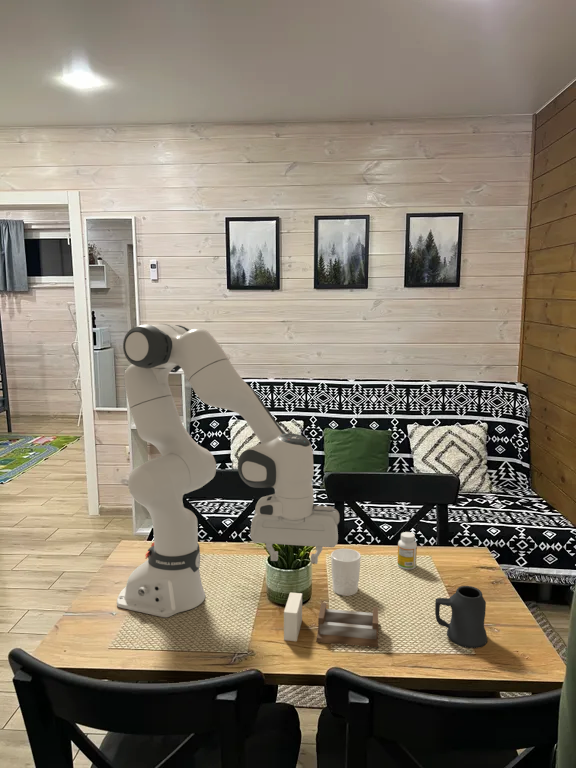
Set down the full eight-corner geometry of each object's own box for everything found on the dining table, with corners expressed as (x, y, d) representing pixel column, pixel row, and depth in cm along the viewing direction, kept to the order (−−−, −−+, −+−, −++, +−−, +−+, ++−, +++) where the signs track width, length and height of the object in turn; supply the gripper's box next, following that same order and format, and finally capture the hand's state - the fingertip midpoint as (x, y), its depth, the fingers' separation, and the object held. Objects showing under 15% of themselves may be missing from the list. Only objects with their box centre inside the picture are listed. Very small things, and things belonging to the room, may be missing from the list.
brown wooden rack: (316, 641, 132) (316, 621, 132) (320, 618, 142) (321, 599, 141) (378, 647, 130) (378, 627, 130) (378, 623, 140) (379, 604, 139)
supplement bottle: (404, 559, 174) (405, 529, 172) (419, 566, 170) (421, 534, 168) (393, 565, 170) (394, 534, 169) (408, 571, 166) (410, 540, 165)
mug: (484, 627, 138) (486, 583, 137) (490, 650, 130) (493, 603, 128) (432, 622, 141) (434, 579, 139) (435, 644, 132) (437, 598, 130)
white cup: (358, 598, 151) (359, 562, 150) (328, 595, 153) (329, 559, 152) (360, 584, 159) (361, 549, 158) (332, 581, 161) (333, 547, 159)
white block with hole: (296, 641, 133) (296, 613, 132) (281, 640, 133) (281, 611, 132) (302, 620, 141) (302, 593, 140) (287, 618, 142) (287, 592, 141)
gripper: (340, 502, 134) (339, 558, 136) (254, 497, 137) (254, 552, 139) (338, 512, 128) (337, 570, 130) (248, 507, 131) (249, 564, 133)
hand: (294, 561), depth 135 cm, fingers open, 8 cm apart
